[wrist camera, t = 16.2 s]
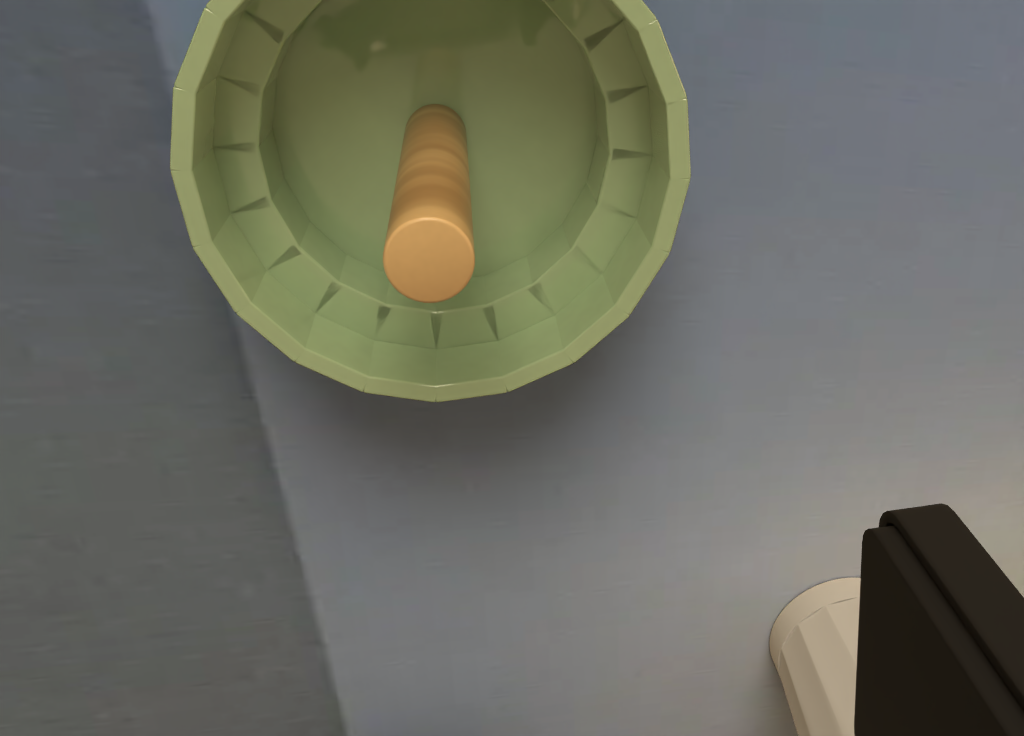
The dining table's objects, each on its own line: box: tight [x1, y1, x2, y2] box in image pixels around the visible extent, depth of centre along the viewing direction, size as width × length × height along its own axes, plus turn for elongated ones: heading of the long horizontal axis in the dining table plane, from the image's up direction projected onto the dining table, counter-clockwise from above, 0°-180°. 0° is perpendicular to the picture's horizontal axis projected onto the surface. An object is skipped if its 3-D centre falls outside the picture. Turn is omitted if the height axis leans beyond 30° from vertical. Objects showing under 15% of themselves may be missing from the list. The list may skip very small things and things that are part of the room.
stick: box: [383, 104, 475, 303], centre depth 26 cm, size 2×2×12 cm
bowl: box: [170, 0, 691, 402], centre depth 30 cm, size 14×14×6 cm
